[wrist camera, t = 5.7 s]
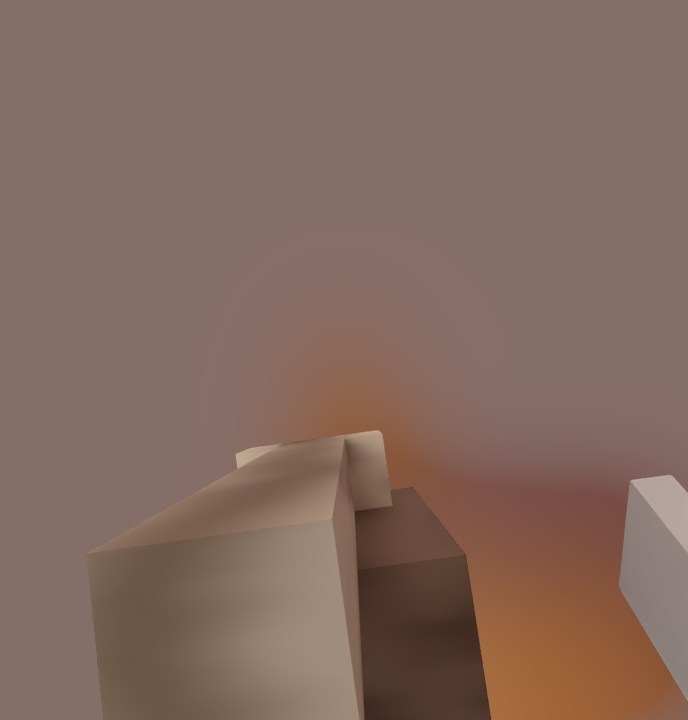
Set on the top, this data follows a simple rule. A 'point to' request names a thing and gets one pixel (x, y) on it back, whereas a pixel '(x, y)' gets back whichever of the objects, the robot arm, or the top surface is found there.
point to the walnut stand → (416, 617)
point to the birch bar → (243, 591)
